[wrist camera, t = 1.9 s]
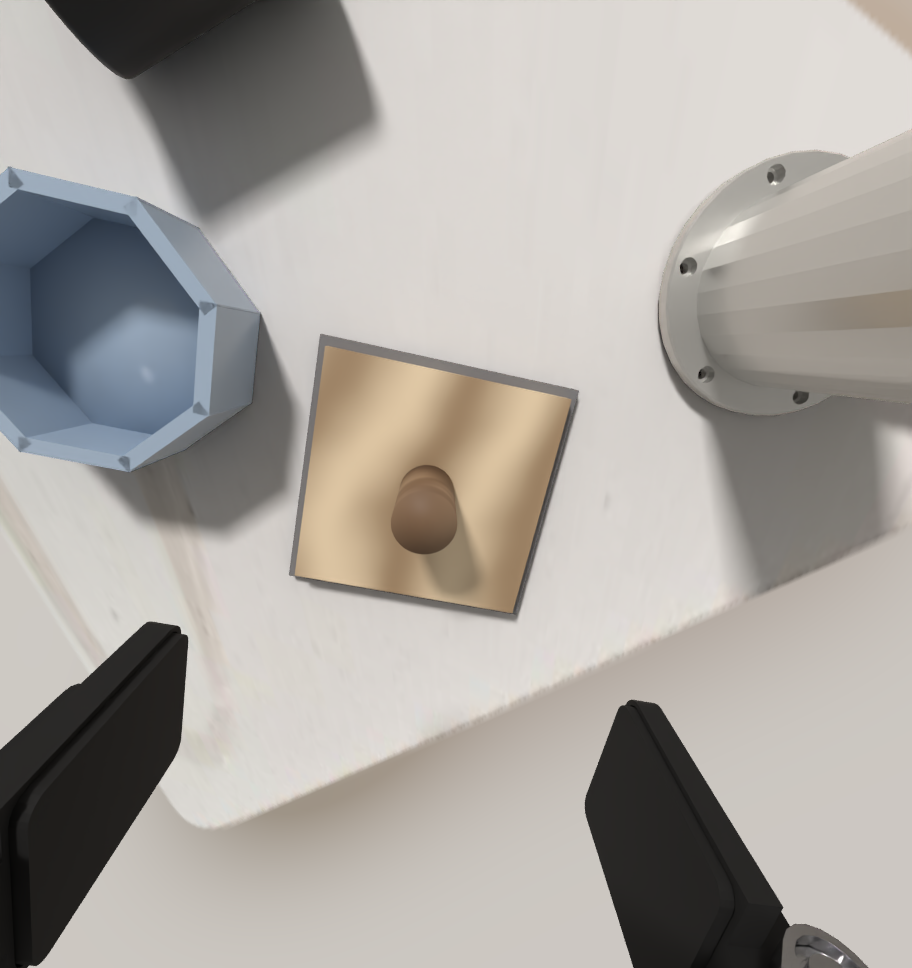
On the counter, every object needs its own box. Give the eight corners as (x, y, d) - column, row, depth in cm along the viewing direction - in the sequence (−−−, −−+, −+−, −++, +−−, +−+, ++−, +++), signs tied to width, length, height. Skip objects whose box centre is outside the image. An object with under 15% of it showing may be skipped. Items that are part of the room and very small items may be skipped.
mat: (575, 389, 26) (578, 391, 26) (514, 609, 30) (516, 614, 29) (323, 334, 25) (320, 334, 24) (291, 570, 29) (288, 575, 28)
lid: (567, 398, 26) (603, 412, 20) (510, 606, 29) (527, 667, 24) (328, 345, 25) (296, 345, 19) (298, 569, 28) (263, 624, 22)
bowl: (267, 243, 24) (223, 217, 19) (246, 461, 27) (204, 486, 22) (25, 187, 23) (-86, 143, 18) (32, 420, 26) (-61, 436, 21)
